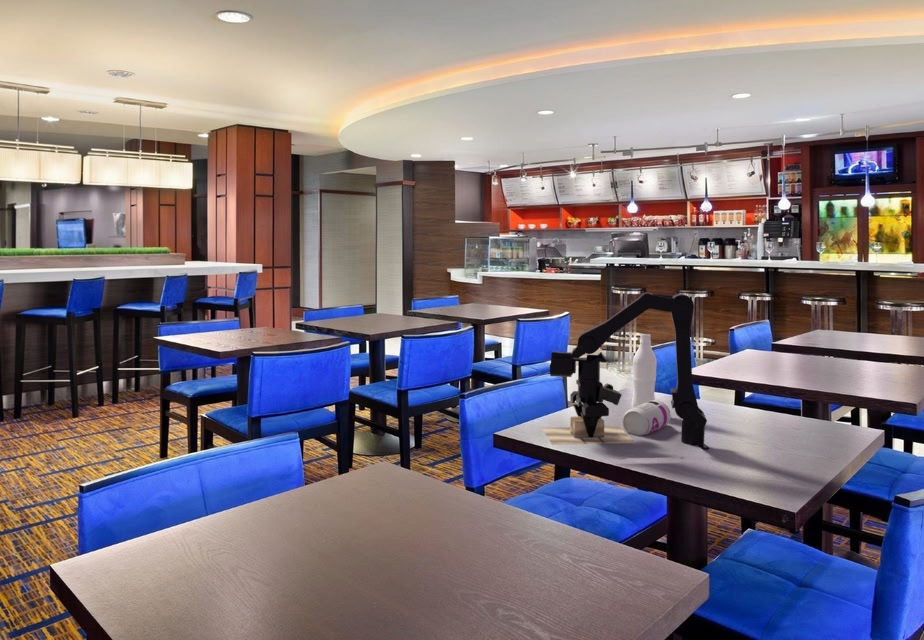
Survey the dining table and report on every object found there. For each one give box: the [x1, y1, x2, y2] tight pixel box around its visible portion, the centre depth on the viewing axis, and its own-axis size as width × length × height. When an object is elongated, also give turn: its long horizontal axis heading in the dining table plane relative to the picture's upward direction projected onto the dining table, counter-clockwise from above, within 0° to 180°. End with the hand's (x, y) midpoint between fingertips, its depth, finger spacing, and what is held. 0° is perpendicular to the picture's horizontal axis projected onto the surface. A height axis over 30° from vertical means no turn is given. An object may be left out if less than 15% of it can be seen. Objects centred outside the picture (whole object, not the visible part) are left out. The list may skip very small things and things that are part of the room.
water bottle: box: [631, 333, 658, 408], centre depth 208 cm, size 7×7×25 cm
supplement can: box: [622, 399, 672, 436], centre depth 189 cm, size 8×8×15 cm
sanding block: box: [569, 415, 605, 438], centre depth 182 cm, size 5×8×4 cm, turn 93°
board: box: [541, 426, 637, 445], centre depth 183 cm, size 16×22×1 cm
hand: (588, 434), depth 182 cm, fingers closed on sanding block, 5 cm apart
